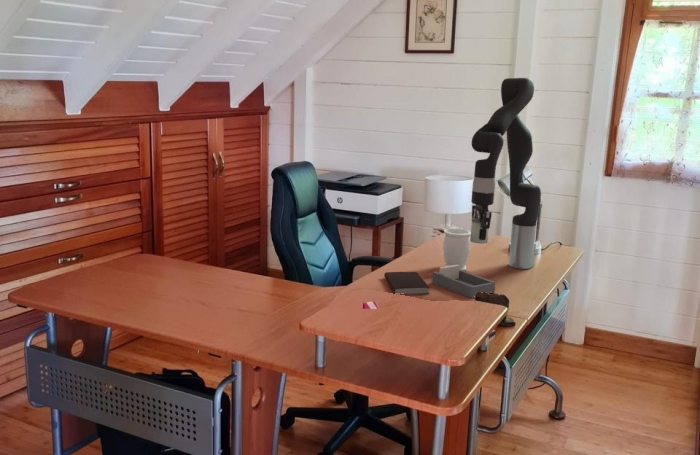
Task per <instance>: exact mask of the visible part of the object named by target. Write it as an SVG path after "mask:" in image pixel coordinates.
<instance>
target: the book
mask: <svg viewBox="0 0 700 455" xmlns="http://www.w3.org/2000/svg"><path fill="white" fill-rule="evenodd" d="M383 275H384V276H383V277H384V279H385V280H386V283H387V284H388V286H389V285H390V286H389V288H390V287H391V288H392V289H391V288H390V289H391V291H392V290H393V291H394V293H400V294H399V295H402V294H401V293H404V294H403V295H405V294H412V295H430V291H429V289H430V287H429V285H428V284H427V282H426V280H424V279H423V278H422V276H421V275H420V273H419V272H418V271H387V272H385V273H384V274H383ZM393 291H392V292H393ZM394 293H393V294H394Z"/></svg>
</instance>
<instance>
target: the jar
mask: <svg viewBox="0 0 700 455" xmlns="http://www.w3.org/2000/svg"><path fill="white" fill-rule="evenodd" d="M443 232H444V238H443V246H442V247H443V248H442V250H443V251H442V252H443V259H444V262H445V265H444V267H445V266H451V265H460V270H462V271H465V270H467V266H466V265H467V262H468V259H469V256H470V253H471V251H470V250H471V241H470V237H471V230H468V229H463V228H447V229H444V231H443Z"/></svg>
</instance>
